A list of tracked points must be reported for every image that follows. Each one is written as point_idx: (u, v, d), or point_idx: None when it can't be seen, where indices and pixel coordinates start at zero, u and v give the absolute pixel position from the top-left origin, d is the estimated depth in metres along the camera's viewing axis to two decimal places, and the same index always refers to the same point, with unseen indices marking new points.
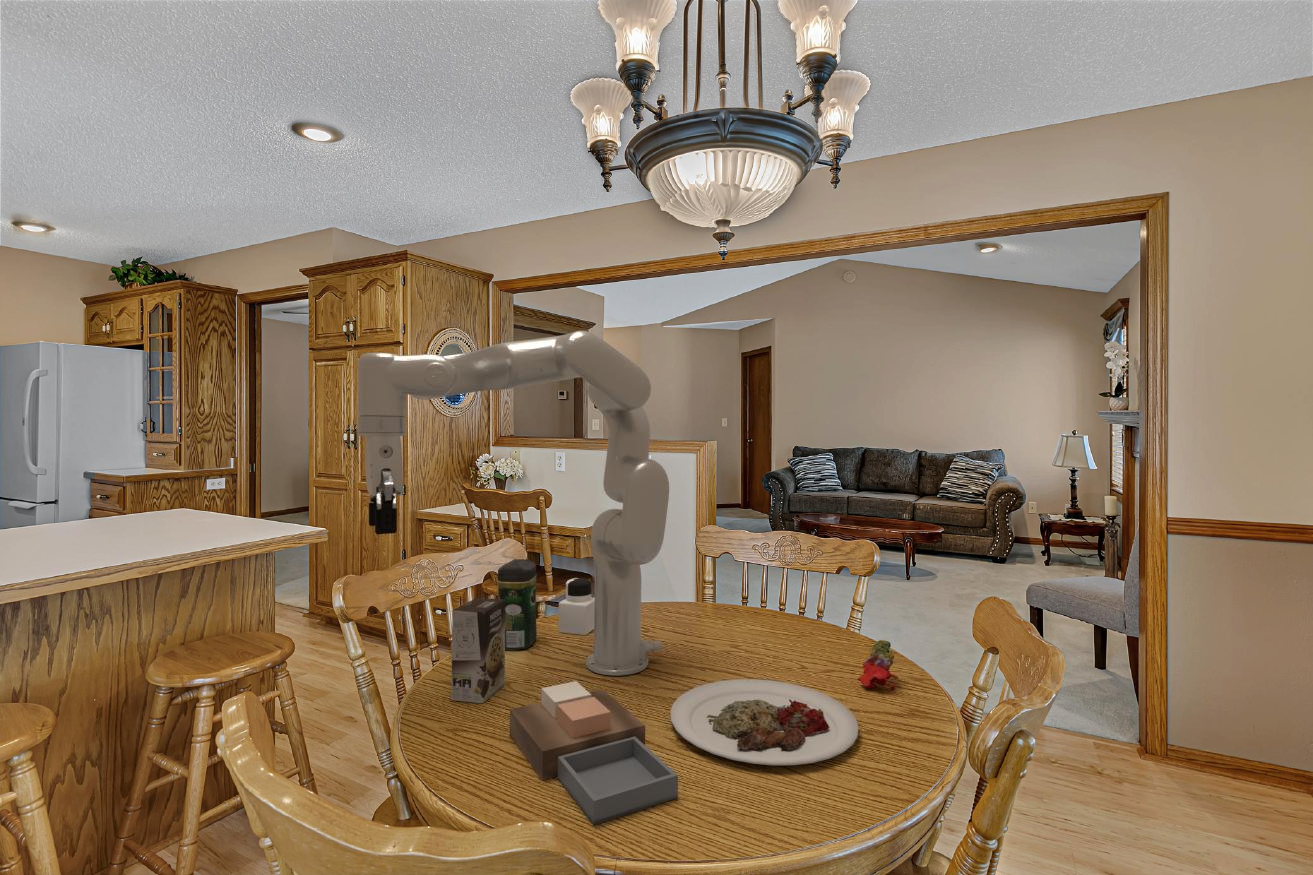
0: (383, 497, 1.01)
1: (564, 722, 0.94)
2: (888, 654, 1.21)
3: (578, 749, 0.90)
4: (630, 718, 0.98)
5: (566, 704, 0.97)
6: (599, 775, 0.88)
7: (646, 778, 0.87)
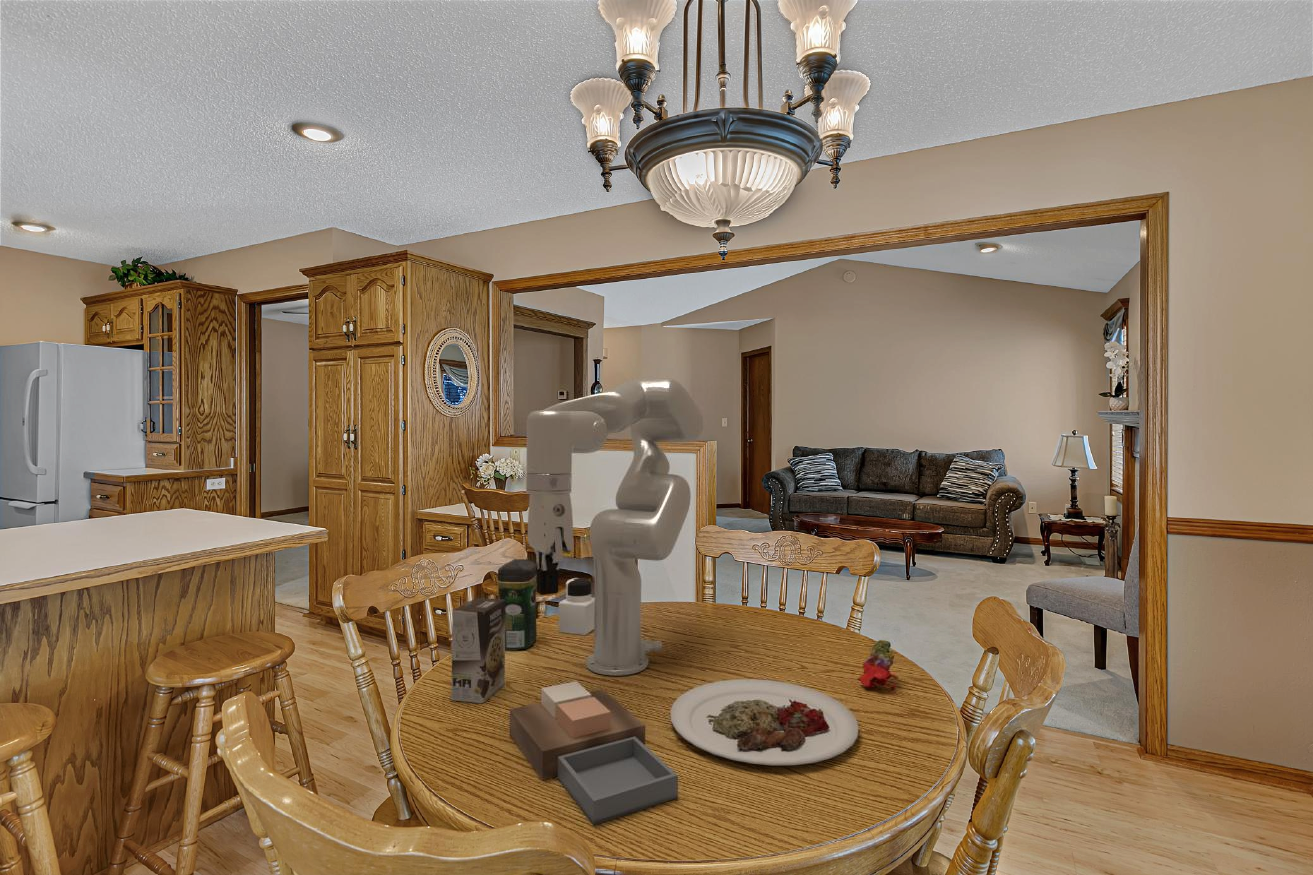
0: (550, 560, 1.05)
1: (564, 722, 0.94)
2: (888, 654, 1.21)
3: (578, 749, 0.90)
4: (630, 718, 0.98)
5: (566, 704, 0.97)
6: (599, 775, 0.88)
7: (646, 778, 0.87)
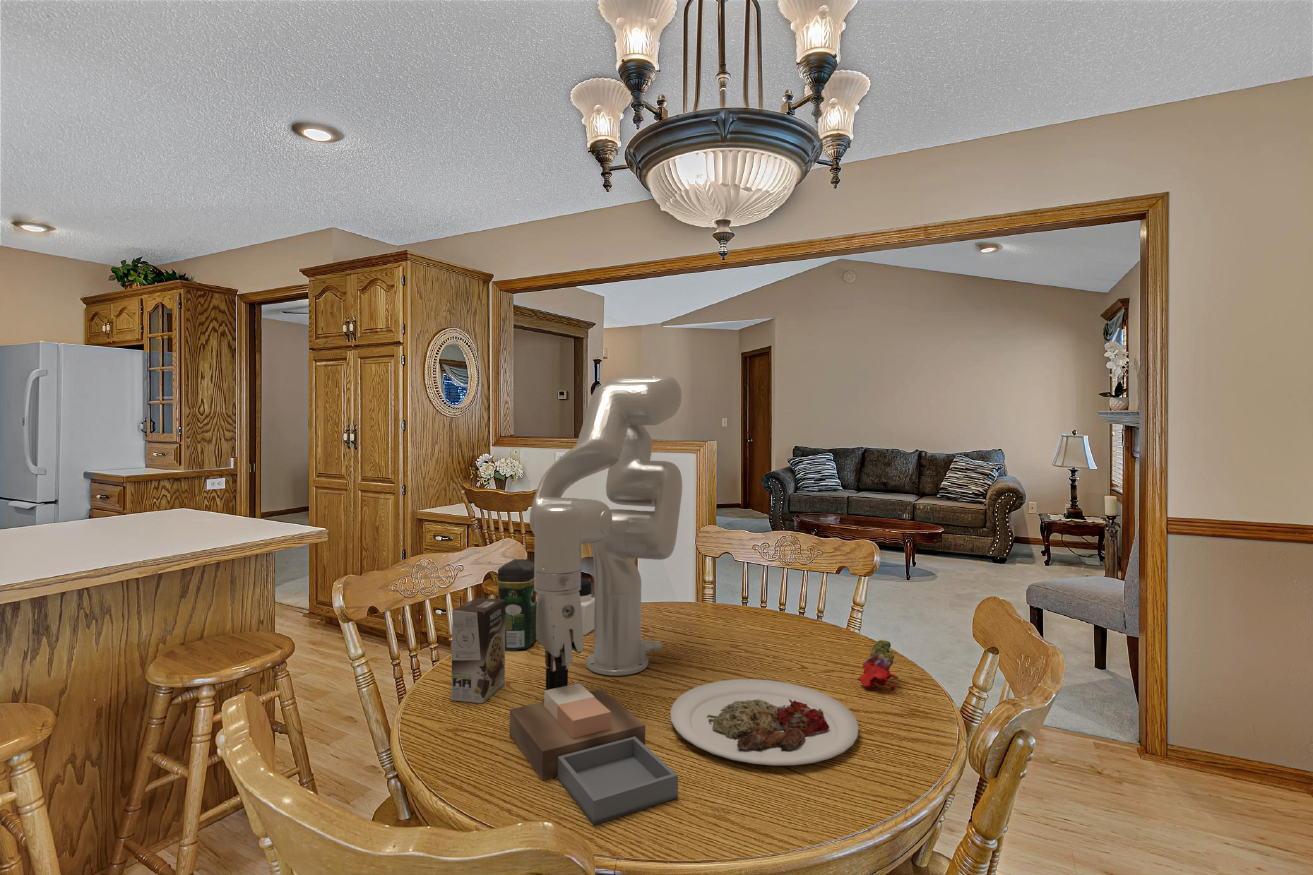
0: (560, 662, 1.01)
1: (564, 722, 0.94)
2: (888, 654, 1.21)
3: (578, 749, 0.90)
4: (630, 718, 0.98)
5: (566, 704, 0.97)
6: (599, 775, 0.88)
7: (646, 778, 0.87)
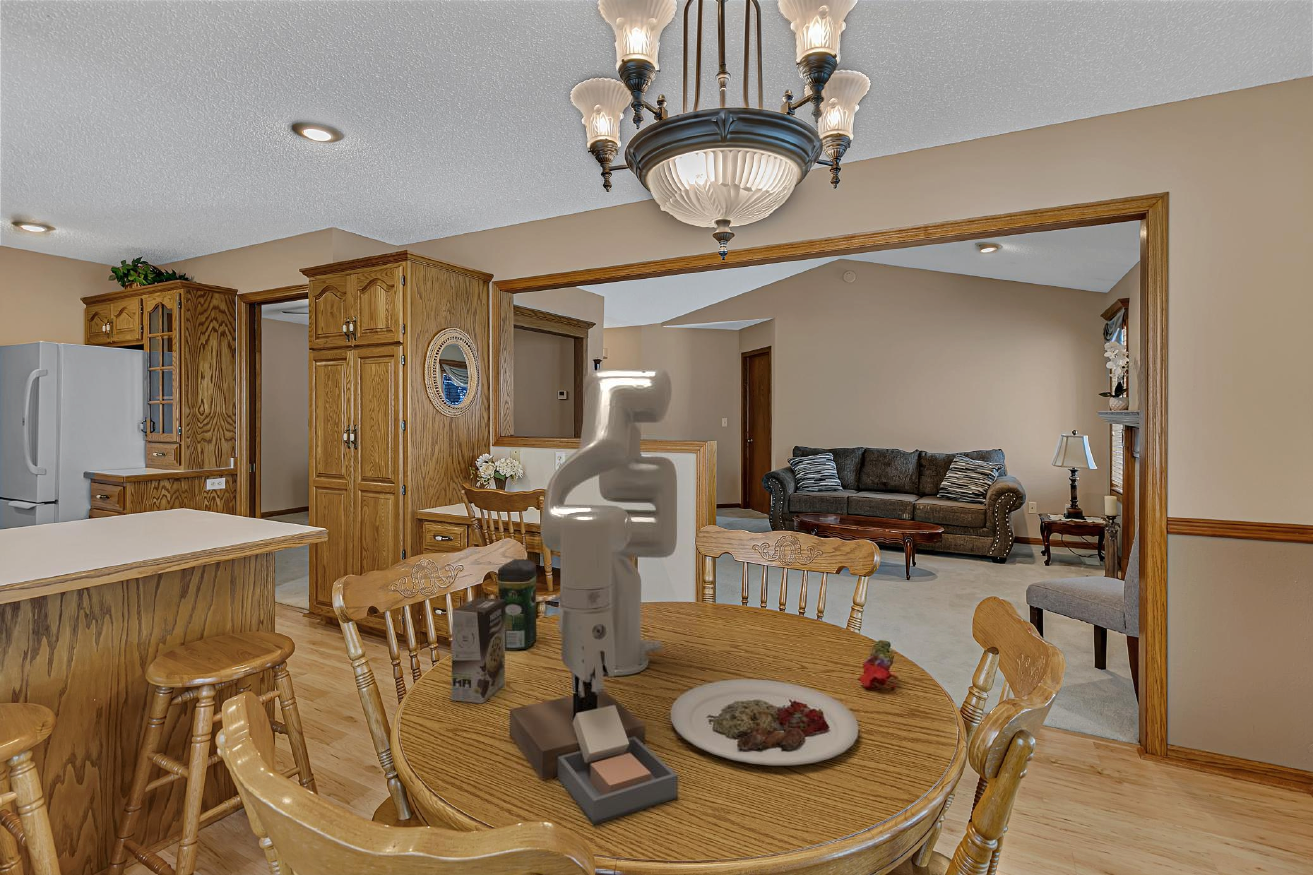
0: (589, 687, 0.92)
1: (599, 782, 0.84)
2: (888, 654, 1.21)
3: (578, 749, 0.90)
4: (630, 718, 0.98)
5: None
6: None
7: None
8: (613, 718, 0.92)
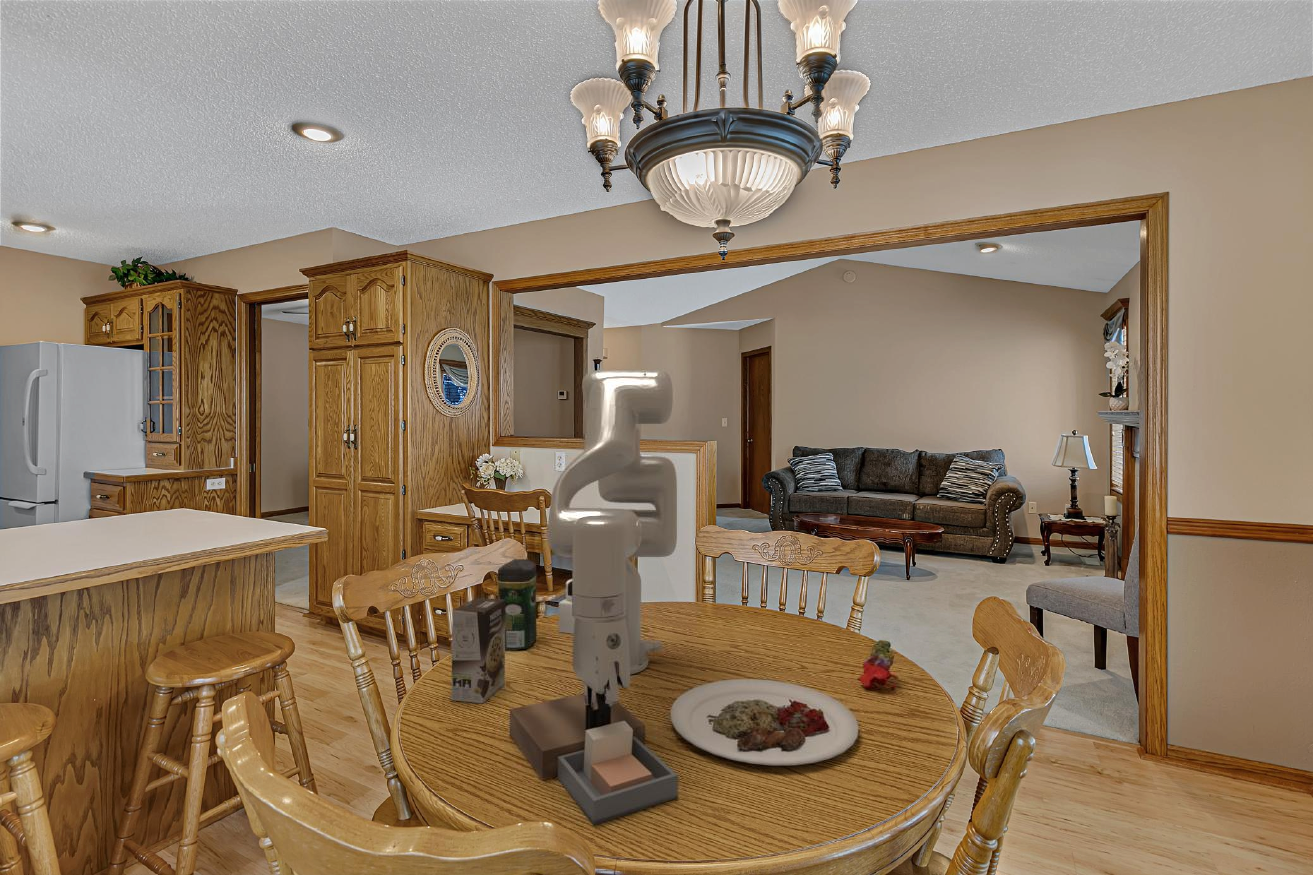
0: (603, 699, 0.88)
1: (600, 783, 0.84)
2: (888, 654, 1.21)
3: (578, 749, 0.90)
4: (630, 718, 0.98)
5: None
6: None
7: None
8: (625, 744, 0.89)
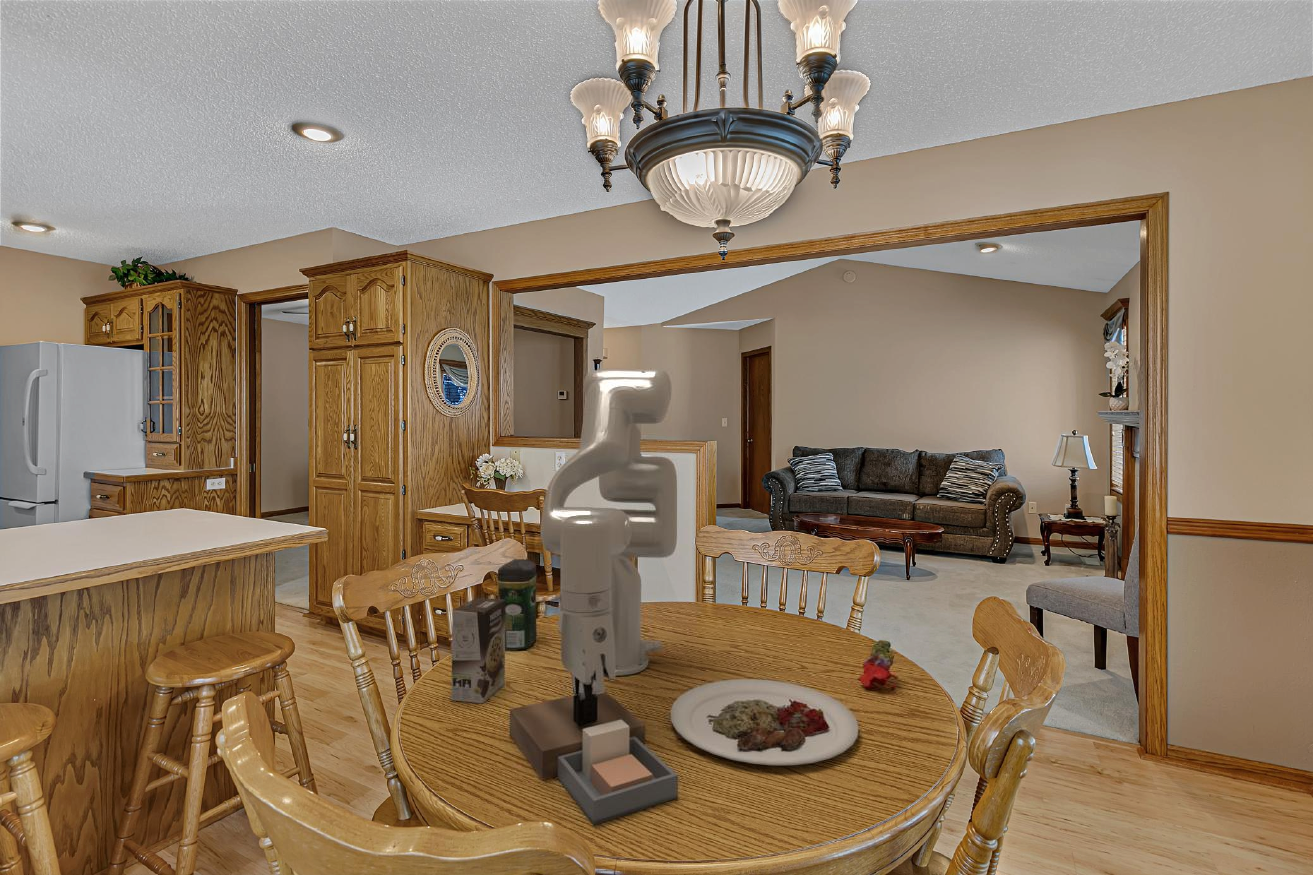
0: (590, 690, 0.92)
1: (601, 784, 0.83)
2: (888, 654, 1.21)
3: (578, 749, 0.90)
4: (630, 718, 0.98)
5: None
6: None
7: None
8: (623, 742, 0.89)
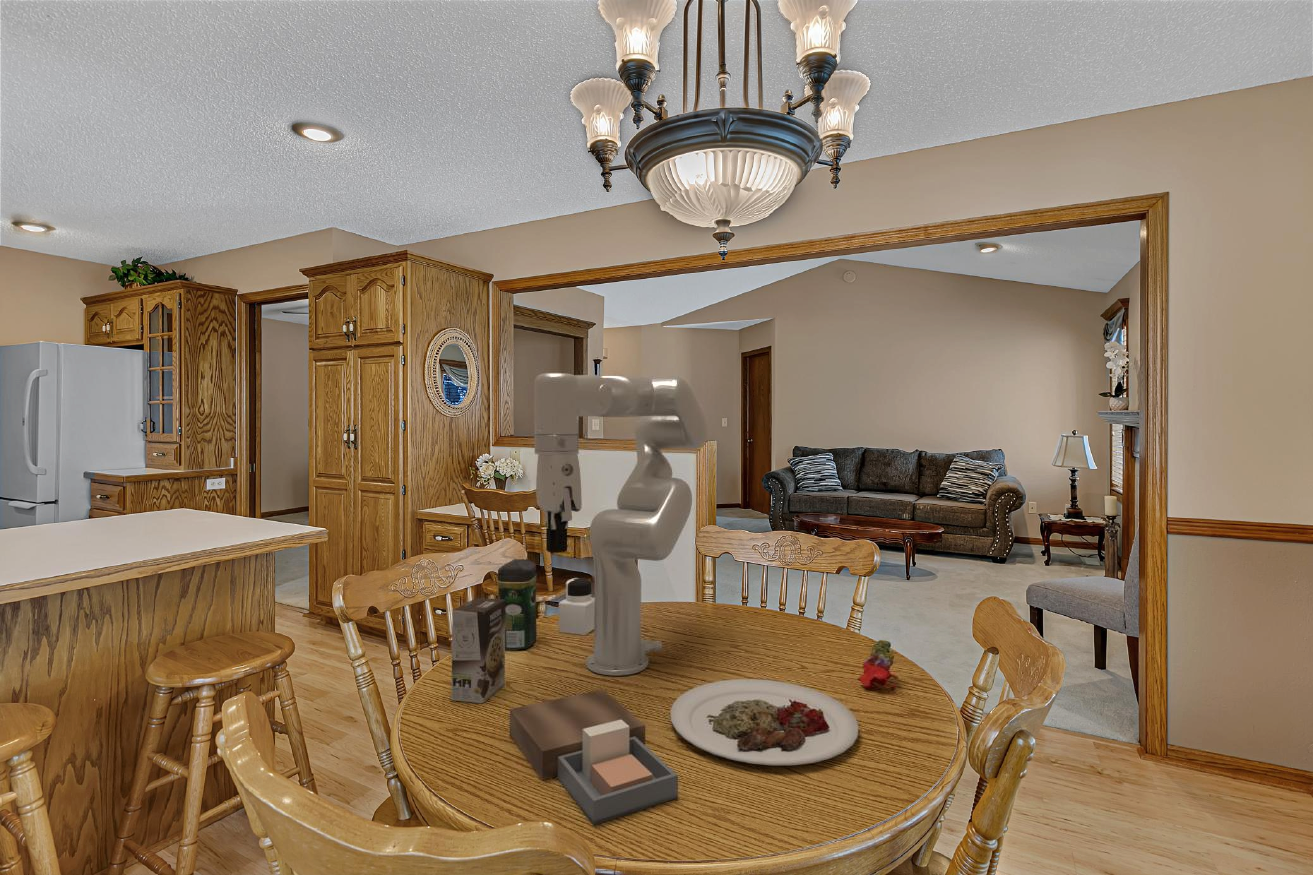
0: (559, 518, 1.07)
1: (601, 784, 0.83)
2: (888, 654, 1.21)
3: (578, 749, 0.90)
4: (630, 718, 0.98)
5: None
6: None
7: None
8: (623, 742, 0.89)
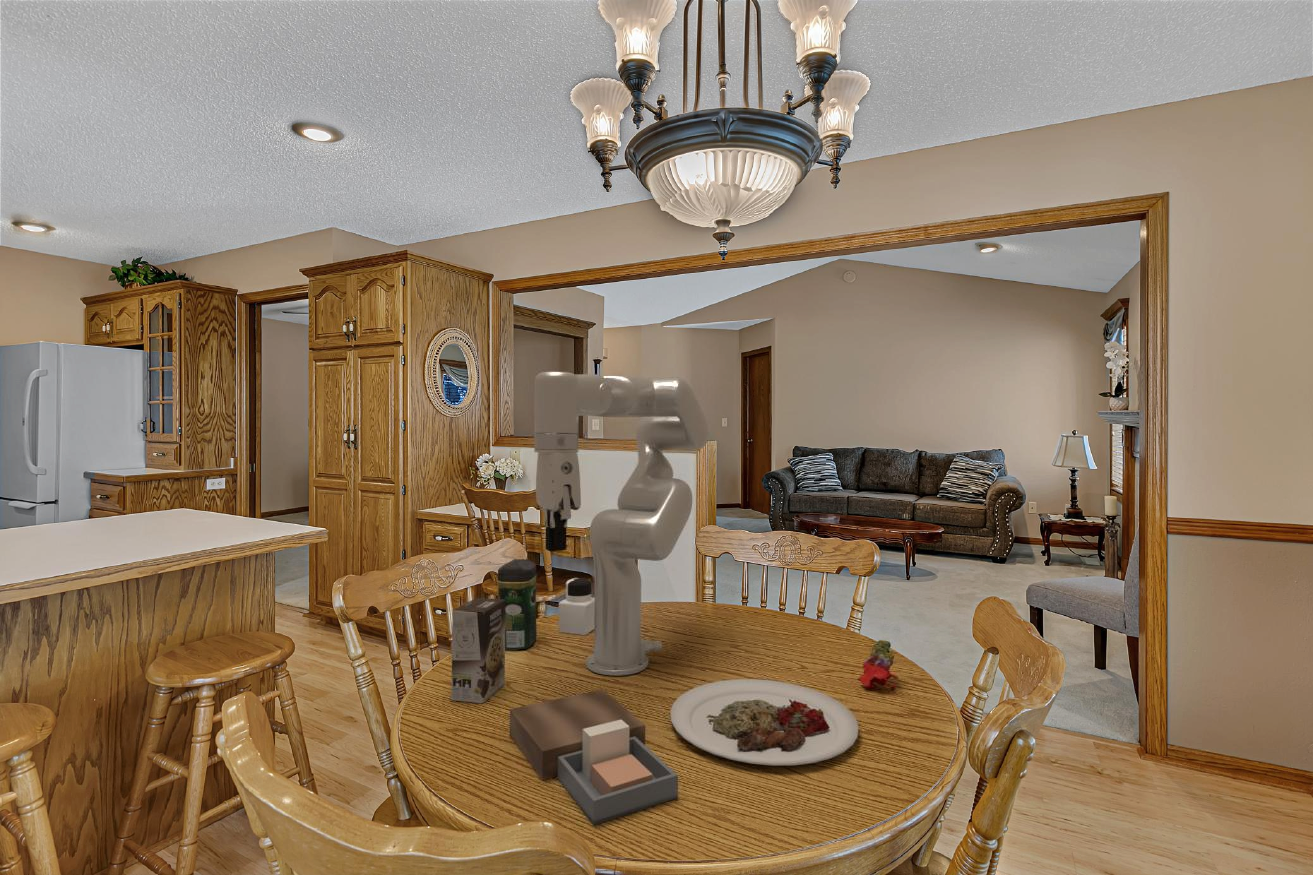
0: (559, 517, 1.08)
1: (601, 784, 0.83)
2: (888, 654, 1.21)
3: (578, 749, 0.90)
4: (630, 718, 0.98)
5: None
6: None
7: None
8: (623, 742, 0.89)
